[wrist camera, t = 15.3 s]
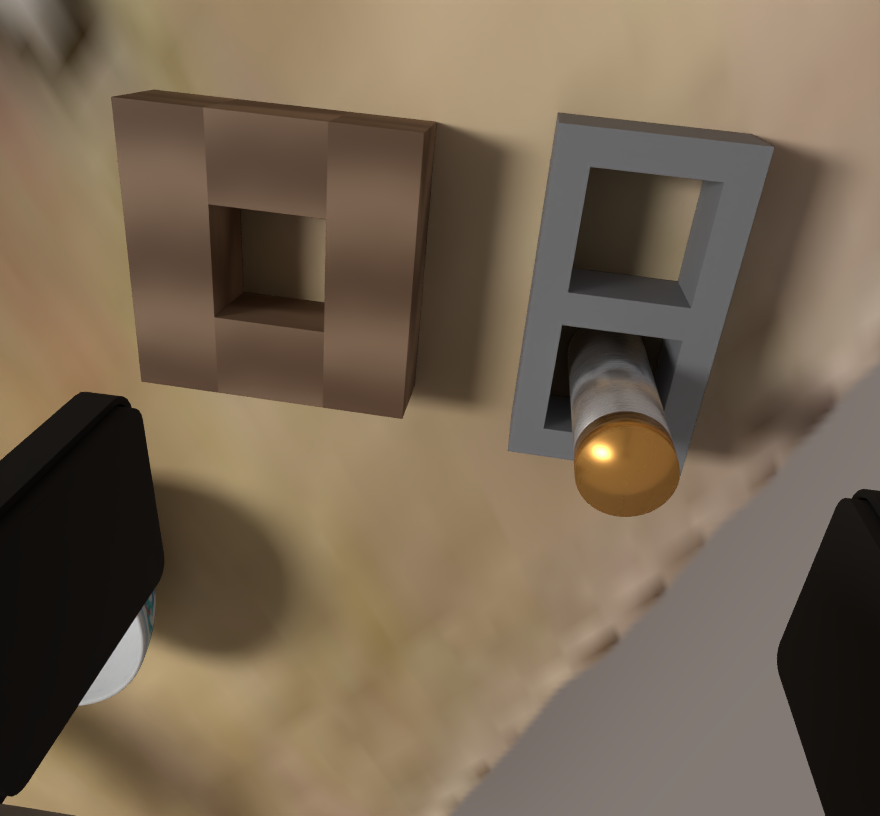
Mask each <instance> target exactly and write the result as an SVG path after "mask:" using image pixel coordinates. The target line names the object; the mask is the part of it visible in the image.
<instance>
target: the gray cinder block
mask: <svg viewBox="0 0 880 816" xmlns="http://www.w3.org/2000/svg"><path fill="white" fill-rule="evenodd" d="M773 151H774V146H772V145H770V144H768V143H766V142H765V141H763V140H761V139H759V138H757V137H756V136H754V135H752V134H746V133H737V132H728V131H719V130H710V129H701V128H692V127H683V126H674V125H665V124H656V123H647V122H638V121H629V120H620V119H611V118H602V117H593V116H584V115H575V114H566V113H558V115H557V121H556V128H555V134H554V141H553V147H552V154H551V160H550V167H549V173H548V180H547V186H546V193H545V199H544V206H543V212H542V219H541V225H540V232H539V238H538V245H537V251H536V258H535V264H534V271H533V277H532V284H531V290H530V297H529V304H528V310H527V317H526V323H525V330H524V336H523V343H522V349H521V356H520V362H519V369H518V375H517V382H516V388H515V395H514V401H513V408H512V414H511V424H510V434H509V444H508V451H511V452H518V453H525V454H532V455H539V456H546V457H553V458H560V459H566V460H573V461H574V454H573V437H572V420H571V403H570V397H564V396H556V395H550V390H551V384H552V379H553V373H554V367H555V362H556V356H557V351H558V345H559V339H560V334H561V328H562V325H566V326H574V327H581V328H589V329H596V330H604V331H612V332H619V333H627V334H634V335H642V336H649V337H657V338H664V340H663V344H662V348H661V352H660V356H659V360H658V364H657V368H656V372H655V376H654V381H655V384H656V387H657V391H658V394H659V397H660V401H661V404H662V407H663V411H664V414H665V417H666V421H667V424H668V428H669V431H670V434H671V438H672V441H673V444H674V448H675V451H676V454H677V458H678V461H679V465H680V476H681V472H682V469H683V465H684V462H685V458H686V455H687V451H688V448H689V444H690V441H691V437H692V434H693V430H694V427H695V423H696V420H697V416H698V413H699V409H700V406H701V402H702V399H703V395H704V392H705V388H706V385H707V381H708V378H709V374H710V371H711V367H712V364H713V360H714V357H715V353H716V350H717V346H718V343H719V339H720V336H721V332H722V329H723V325H724V322H725V318H726V315H727V311H728V308H729V304H730V301H731V297H732V294H733V290H734V287H735V283H736V280H737V276H738V273H739V270H740V266H741V263H742V259H743V256H744V252H745V249H746V245H747V242H748V238H749V235H750V231H751V228H752V224H753V221H754V217H755V214H756V210H757V207H758V203H759V200H760V196H761V193H762V189H763V186H764V182H765V179H766V175H767V172H768V168H769V165H770V161H771V158H772V154H773ZM590 167H595V168H604V169H613V170H621V171H630V172H639V173H647V174H656V175H664V176H673V177H682V178H690V179H699V180H703V183H702V187H701V191H700V195H699V199H698V203H697V207H696V211H695V215H694V219H693V223H692V227H691V231H690V235H689V239H688V243H687V247H686V251H685V255H684V259H683V263H682V267H681V271H680V275H679V279H678V281H670V280H662V279H654V278H646V277H638V276H631V275H623V274H615V273H607V272H599V271H591V270H583V269H575V268H572V266H573V261H574V255H575V250H576V244H577V238H578V233H579V227H580V222H581V216H582V210H583V205H584V199H585V193H586V188H587V182H588V177H589V171H590Z"/></svg>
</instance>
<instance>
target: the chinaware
mask: <svg viewBox="0 0 880 816" xmlns="http://www.w3.org/2000/svg"><path fill="white" fill-rule="evenodd" d="M155 609H156V593H155V589H154V591H153V592H152V594H151V595H150V597H149V598H148V600H147V601H146V603H145V604H144V606H143V607H142V609H141V610H140V612H139V613H138V615H137V617H136V618H135V620H134V621H133V623H132V624H131V626H130V627H129V629H128V630H127V632H126V633H125V635H124V636H123V638H122V639H121V641H120V643H119V644H118V646H117V647H116V649H115V650H114V652H113V653H112V655H111V656H110V658H109V659H108V661H107V662H106V664H105V665H104V667H103V668H102V670H101V672H100V673H99V675H98V676H97V678H96V679H95V681H94V682H93V684H92V685H91V687H90V688H89V690H88V691H87V693H86V694H85V696H84V698H83V699H82V701H81V702H80V704H79V705H78V706H81V705H88V704H92V703H96V702H100V701H103V700H105V699H108V698H110V697H112V696H114V695H115V694H117V693H119V692H120V691H121V690H123V689H124V688H125V687H126V686H127V685H128V684H129V683H130V682H131V681H132V680H133V678H134V677H135V676H136V674H137V672H138V671H139V669H140V667H141V665H142V662H143V660H144V657H145V654H146V652H147V649H148V646H149V642H150V639H151V635H152V630H153V625H154V619H155Z"/></svg>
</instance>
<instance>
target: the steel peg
mask: <svg viewBox="0 0 880 816" xmlns="http://www.w3.org/2000/svg"><path fill="white" fill-rule="evenodd" d="M568 369H569V386H570V403H571V420H572V437H573V454H574V470H575V481H576V485H577V488H578V490H579V492H580V494H581V496H582V497H583V498H584V499H585V500H586V502H587V503H588V504H590V505H591V506H592V507H594V508H595V509H597V510H599V511H601V512H603V513H606V514H609V515H613V516H620V517H631V516H638V515H643V514H646V513H649V512H651V511H653V510H655V509H657V508H658V507H660V506H662V505H663V504H664V503H665V502H666V501H667V500H668V499H669V498H670V497H671V496H672V494H673V493H674V491H675V490H676V488H677V485H678V482H679V478H680V465H679V461H678V458H677V454H676V451H675V448H674V444H673V441H672V438H671V434H670V431H669V428H668V424H667V421H666V417H665V414H664V411H663V407H662V404H661V401H660V397H659V394H658V391H657V387H656V384H655V381H654V377H653V374H652V370H651V367H650V364H649V360H648V357H647V354H646V350H645V347H644V344H643V341H642V338H641V336H640V335H634V334H627V333H619V332H612V331H604V330H596V329H589V328H581V329H579V330H578V331H577V332H576V334H575V335H574V336H573V338H572V340H571V342H570V344H569V348H568Z"/></svg>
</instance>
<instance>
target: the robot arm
mask: <svg viewBox="0 0 880 816" xmlns="http://www.w3.org/2000/svg"><path fill="white" fill-rule="evenodd" d="M163 568H164V553H163V546H162V540H161V533H160V527H159V520H158V514H157V508H156V501H155V495H154V488H153V482H152V475H151V469H150V463H149V456H148V450H147V443H146V437H145V431H144V424H143V419H142V415H141V413H140V411H139V410H137V409H135V408H131V404H130V403H129V401H128V399H126V398H125V397H123V396H115V395H107V394H99V393H91V392H80V393H79V394H77V395H75V396H74V397H73V398H72V399H71V400H70V401H68V402H67V403H66V404H65V405H64V406H63V407H61V408H60V409H59V410H58V411H57V412H56V413H55V414H53V415H52V416H51V417H50V418H49V419H48V420H47V421H45V422H44V423H43V424H42V425H41V426H40V427H38V428H37V429H36V430H35V431H34V432H33V433H32V434H30V435H29V436H28V437H27V438H26V439H25V440H23V441H22V442H21V443H20V444H19V445H18V446H17V447H15V448H14V449H13V450H12V451H11V452H10V453H8V454H7V455H6V456H5V457H4V458H3V459H2V460H0V816H74V815H68V814H62V813H56V812H50V811H44V810H38V809H32V808H26V807H19V806H12V805H5V804H2V803H3V801H4V800H5V798H6V797H7V796H11V797H12V796H14V795H17V794H18V793H19V792H20V791H21V790H23V788H24V787H25V786H26V784H27V783H28V782H29V780H30V779H31V777H32V775H33V774H34V772H35V771H36V769H37V768H38V766H39V765H40V763H41V762H42V760H43V759H44V757H45V756H46V754H47V753H48V751H49V750H50V748H51V746H52V745H53V743H54V742H55V740H56V739H57V737H58V736H59V734H60V733H61V731H62V730H63V728H64V727H65V725H66V724H67V722H68V720H69V719H70V717H71V716H72V714H73V713H74V711H75V710H76V708H77V707H78V705H79V704H80V702H81V701H82V699H83V698H84V696H85V694H86V693H87V691H88V690H89V688H90V687H91V685H92V684H93V682H94V681H95V679H96V678H97V676H98V675H99V673H100V672H101V670H102V668H103V667H104V665H105V664H106V662H107V661H108V659H109V658H110V656H111V655H112V653H113V652H114V650H115V649H116V647H117V646H118V644H119V643H120V641H121V639H122V638H123V636H124V635H125V633H126V632H127V630H128V629H129V627H130V626H131V624H132V623H133V621H134V620H135V618H136V617H137V615H138V613H139V612H140V610H141V609H142V607H143V606H144V604H145V603H146V601H147V600H148V598H149V597H150V595H151V594H152V592H153V591H154V589H155V587H156V586H157V584H158V582H159V581H160V578H161V576H162V572H163ZM777 666H778V672H779V676H780V679H781V682H782V685H783V688H784V691H785V694H786V697H787V700H788V703H789V706H790V709H791V712H792V715H793V718H794V721H795V725H796V727H797V731H798V734H799V736H800V740H801V743H802V746H803V749H804V752H805V755H806V758H807V761H808V764H809V767H810V770H811V773H812V776H813V779H814V782H815V785H816V788H817V792H818V794H819V797H820V800H821V803H822V806H823V810H824V813H825V816H880V491H876V490H868V489H862V490H859V491H857V492H856V493H855V494H854V495H853V497H852V499H850V498H844V499H842V500H841V501H840V502H839V503H838V505H837V506H836V508H835V511H834V514H833V516H832V518H831V520H830V523H829V525H828V528H827V530H826V533H825V535H824V537H823V540H822V542H821V545H820V547H819V550H818V552H817V554H816V557H815V559H814V561H813V564H812V567H811V569H810V571H809V574H808V576H807V578H806V581H805V583H804V586H803V589H802V591H801V593H800V595H799V598H798V600H797V603H796V605H795V607H794V610H793V612H792V615H791V617H790V620H789V622H788V624H787V627H786V629H785V632H784V634H783V637H782V639H781V641H780V644H779V647H778V653H777Z"/></svg>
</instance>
